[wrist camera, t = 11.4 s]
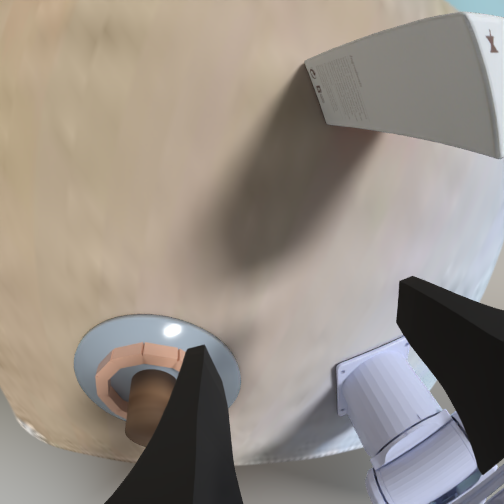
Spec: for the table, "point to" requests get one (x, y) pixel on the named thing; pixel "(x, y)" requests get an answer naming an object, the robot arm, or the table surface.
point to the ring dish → (143, 357)
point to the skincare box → (420, 81)
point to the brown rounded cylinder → (147, 403)
